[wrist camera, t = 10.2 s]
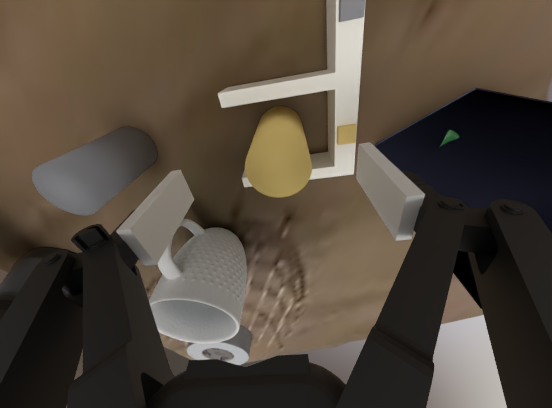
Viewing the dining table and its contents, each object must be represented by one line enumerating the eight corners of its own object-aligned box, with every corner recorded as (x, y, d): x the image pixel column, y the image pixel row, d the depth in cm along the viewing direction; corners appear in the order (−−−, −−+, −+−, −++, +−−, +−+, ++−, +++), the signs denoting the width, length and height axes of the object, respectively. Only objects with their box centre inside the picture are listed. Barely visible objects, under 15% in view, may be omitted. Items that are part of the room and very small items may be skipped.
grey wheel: (181, 328, 55) (173, 350, 51) (224, 313, 49) (219, 337, 45) (221, 349, 62) (217, 370, 58) (263, 337, 57) (261, 360, 52)
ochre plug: (262, 153, 25) (252, 200, 17) (254, 109, 23) (237, 141, 14) (304, 147, 25) (313, 193, 17) (300, 102, 22) (309, 131, 14)
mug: (156, 208, 31) (89, 289, 20) (220, 186, 28) (182, 265, 18) (209, 268, 39) (181, 348, 28) (263, 255, 36) (255, 338, 26)
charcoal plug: (129, 168, 27) (63, 217, 19) (105, 130, 24) (15, 168, 16) (164, 163, 27) (112, 212, 19) (144, 123, 24) (72, 160, 16)
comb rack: (249, 171, 27) (243, 190, 23) (197, -33, 16) (171, -58, 13) (344, 158, 25) (355, 177, 22) (353, -73, 15) (376, -113, 11)
